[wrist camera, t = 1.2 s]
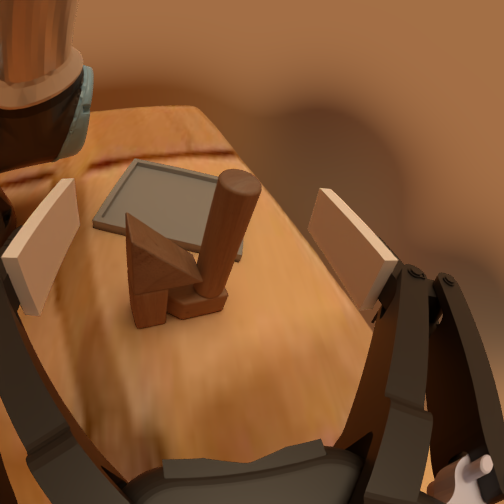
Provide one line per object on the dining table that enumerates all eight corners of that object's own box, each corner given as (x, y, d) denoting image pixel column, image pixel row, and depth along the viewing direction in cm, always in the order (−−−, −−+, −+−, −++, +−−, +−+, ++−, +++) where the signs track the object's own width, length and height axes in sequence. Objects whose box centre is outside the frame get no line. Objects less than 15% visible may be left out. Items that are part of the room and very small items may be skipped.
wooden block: (129, 303, 31) (125, 171, 19) (212, 287, 37) (252, 166, 24) (136, 330, 29) (130, 202, 17) (223, 311, 35) (272, 192, 22)
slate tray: (93, 227, 37) (92, 220, 36) (134, 165, 49) (134, 158, 48) (239, 262, 41) (242, 255, 40) (245, 190, 53) (247, 184, 52)
